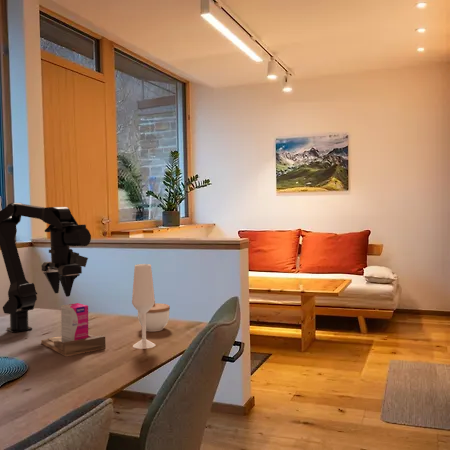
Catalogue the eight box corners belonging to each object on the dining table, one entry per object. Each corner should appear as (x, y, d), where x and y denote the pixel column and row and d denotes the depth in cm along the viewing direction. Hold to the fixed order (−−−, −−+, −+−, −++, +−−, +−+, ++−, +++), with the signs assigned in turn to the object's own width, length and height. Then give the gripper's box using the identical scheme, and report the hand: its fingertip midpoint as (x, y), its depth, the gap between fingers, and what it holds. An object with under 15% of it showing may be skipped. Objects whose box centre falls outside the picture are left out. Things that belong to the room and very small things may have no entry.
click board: (41, 343, 158) (41, 332, 158) (78, 336, 166) (78, 325, 166) (66, 356, 144) (65, 344, 144) (105, 348, 152) (105, 336, 152)
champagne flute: (143, 341, 159) (142, 263, 158) (160, 344, 156) (159, 264, 155) (127, 346, 154) (126, 265, 153) (144, 350, 150) (143, 266, 149)
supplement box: (72, 347, 150) (71, 308, 149) (60, 344, 153) (60, 305, 153) (89, 343, 154) (88, 304, 153) (78, 340, 158) (77, 302, 157)
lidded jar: (131, 331, 172) (131, 303, 171) (148, 324, 182) (147, 297, 181) (160, 334, 168) (159, 305, 167) (175, 327, 178) (175, 299, 177)
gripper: (96, 245, 164) (98, 294, 165) (72, 243, 179) (74, 288, 179) (62, 248, 157) (64, 299, 158) (40, 245, 172) (42, 292, 172)
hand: (62, 294), depth 167 cm, fingers open, 9 cm apart
